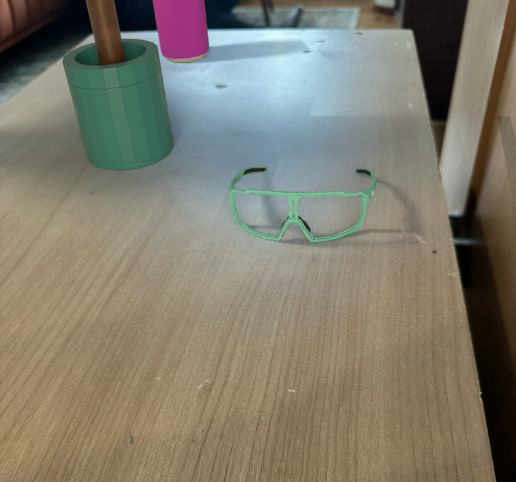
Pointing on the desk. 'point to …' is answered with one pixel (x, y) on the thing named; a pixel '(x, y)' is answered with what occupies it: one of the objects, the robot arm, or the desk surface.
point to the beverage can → (182, 29)
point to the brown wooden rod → (106, 31)
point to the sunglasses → (295, 196)
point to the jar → (120, 105)
